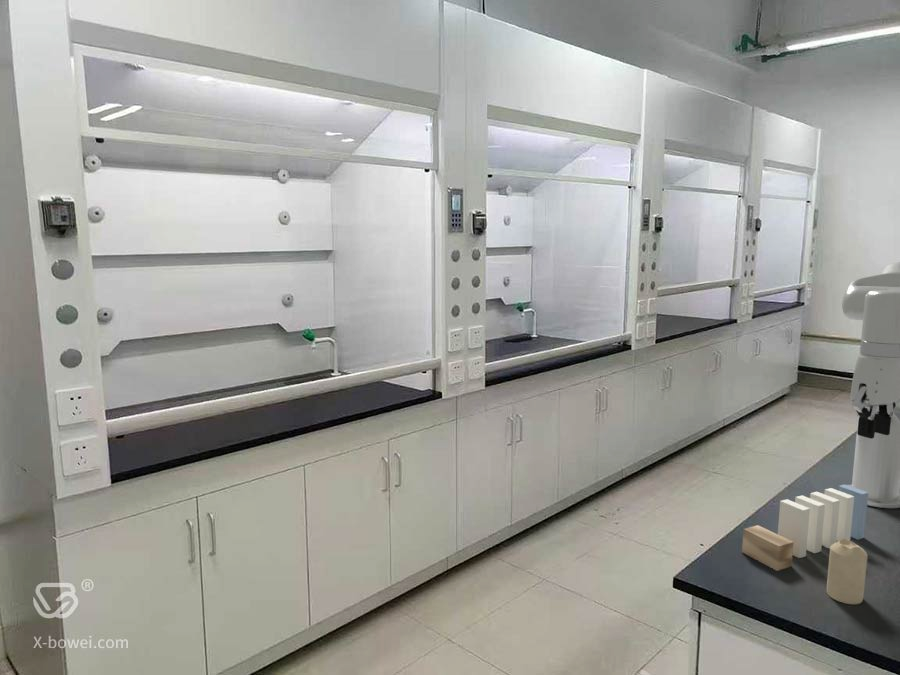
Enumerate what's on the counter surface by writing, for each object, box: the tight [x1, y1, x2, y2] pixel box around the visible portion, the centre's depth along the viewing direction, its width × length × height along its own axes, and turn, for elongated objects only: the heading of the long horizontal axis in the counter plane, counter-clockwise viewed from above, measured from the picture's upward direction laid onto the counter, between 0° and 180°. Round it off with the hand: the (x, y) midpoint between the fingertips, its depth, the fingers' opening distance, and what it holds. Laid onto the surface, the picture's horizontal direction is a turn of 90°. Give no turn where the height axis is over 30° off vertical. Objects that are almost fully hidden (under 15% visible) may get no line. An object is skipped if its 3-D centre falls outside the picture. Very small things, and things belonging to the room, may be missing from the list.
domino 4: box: [823, 487, 854, 542], centre depth 132 cm, size 2×5×10 cm, turn 25°
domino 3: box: [809, 491, 840, 550], centre depth 130 cm, size 2×5×10 cm, turn 25°
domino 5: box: [838, 483, 868, 541], centre depth 134 cm, size 2×5×10 cm, turn 25°
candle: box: [826, 539, 868, 605], centre depth 111 cm, size 6×6×10 cm
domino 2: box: [794, 495, 825, 554], centre depth 128 cm, size 2×5×10 cm, turn 25°
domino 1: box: [777, 498, 810, 559], centre depth 127 cm, size 2×5×10 cm, turn 25°
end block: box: [741, 524, 793, 571], centre depth 124 cm, size 4×8×5 cm, turn 25°
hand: (873, 434), depth 134 cm, fingers open, 4 cm apart
